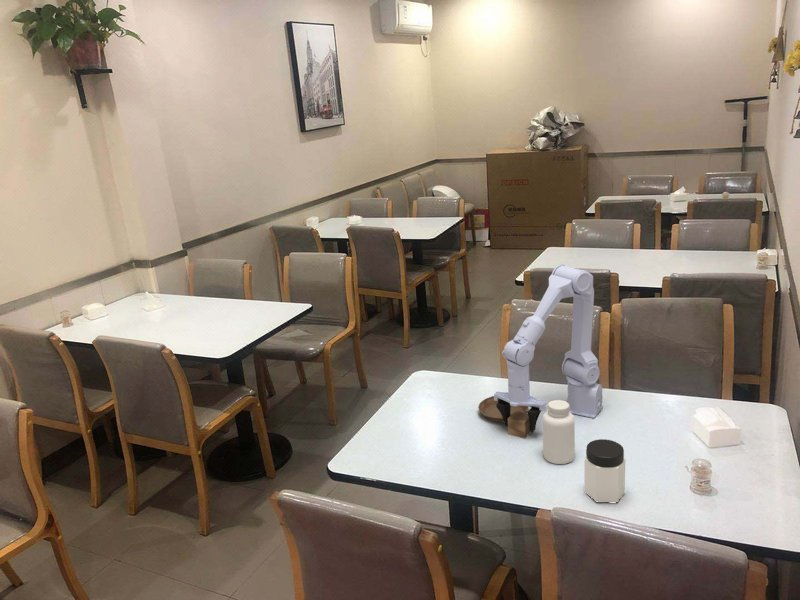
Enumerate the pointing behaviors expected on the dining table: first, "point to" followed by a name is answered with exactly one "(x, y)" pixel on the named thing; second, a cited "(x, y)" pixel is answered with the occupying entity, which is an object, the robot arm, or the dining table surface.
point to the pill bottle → (558, 433)
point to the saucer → (496, 409)
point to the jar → (604, 471)
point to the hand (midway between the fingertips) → (520, 427)
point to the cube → (519, 424)
